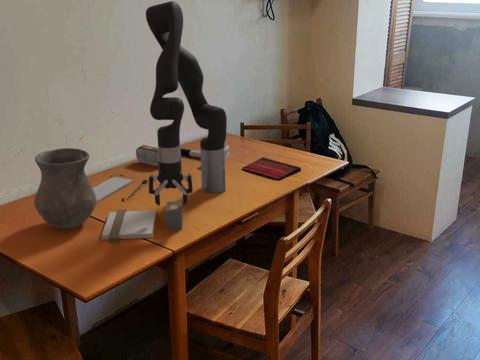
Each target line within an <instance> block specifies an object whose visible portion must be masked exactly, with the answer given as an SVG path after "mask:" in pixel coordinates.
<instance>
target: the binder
mask: <svg viewBox="0 0 480 360" xmlns="http://www.w3.org/2000/svg"><path fill="white" fill-rule="evenodd" d="M241 170H242V171H243V172H248V173H251V174H256V175H259V176H263V177H266V178H269V179H271V180H273V181H281V180H284V179H285V178H288V177H291V176H293V175H295V174H296V171H299V172H301V171H302V167H300V166H298V165H297V166H296V165H292V164H289V163H284V162H281V161H278V160H274V159H270V158H267V157H264V156H263V157H260V158H259V159H257V160H255V161H253V162H251V163H250V164H247V165H245V166H243V167H242V168H241Z"/></svg>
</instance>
